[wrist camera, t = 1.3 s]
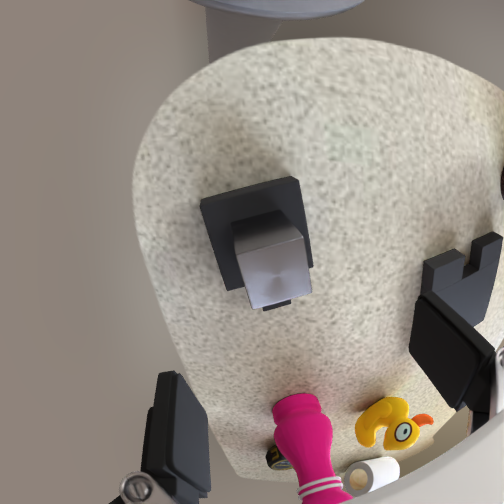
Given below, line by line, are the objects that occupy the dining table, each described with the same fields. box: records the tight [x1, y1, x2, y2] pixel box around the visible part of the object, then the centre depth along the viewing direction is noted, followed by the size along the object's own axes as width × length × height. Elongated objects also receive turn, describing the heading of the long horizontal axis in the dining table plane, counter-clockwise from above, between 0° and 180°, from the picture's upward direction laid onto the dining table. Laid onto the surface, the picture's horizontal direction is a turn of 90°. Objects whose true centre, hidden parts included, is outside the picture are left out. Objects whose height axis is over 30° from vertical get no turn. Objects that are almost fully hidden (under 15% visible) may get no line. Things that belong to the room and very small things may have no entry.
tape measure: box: [266, 446, 293, 470], centre depth 36 cm, size 7×7×4 cm
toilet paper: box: [344, 456, 400, 497], centre depth 45 cm, size 10×10×10 cm
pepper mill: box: [272, 393, 353, 504], centre depth 23 cm, size 7×7×20 cm
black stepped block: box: [200, 176, 313, 311], centre depth 19 cm, size 10×7×8 cm
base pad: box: [420, 232, 503, 327], centre depth 27 cm, size 14×14×2 cm
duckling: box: [355, 397, 434, 450], centre depth 31 cm, size 11×5×10 cm, turn 123°
